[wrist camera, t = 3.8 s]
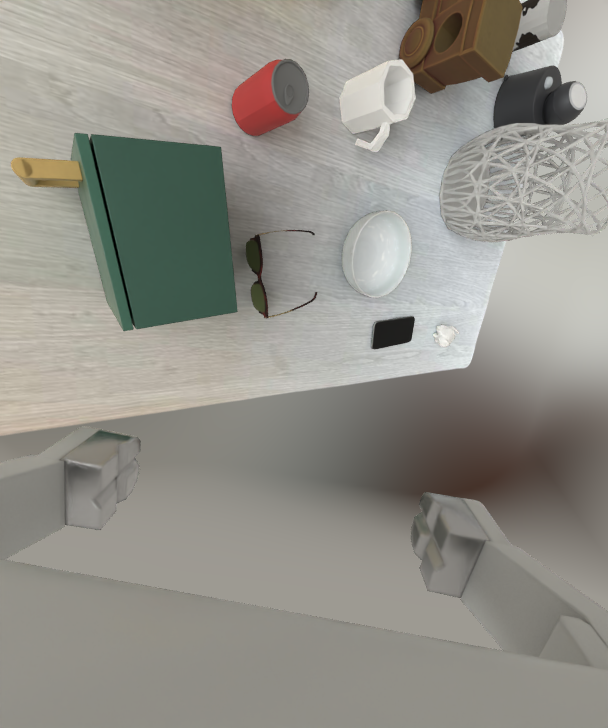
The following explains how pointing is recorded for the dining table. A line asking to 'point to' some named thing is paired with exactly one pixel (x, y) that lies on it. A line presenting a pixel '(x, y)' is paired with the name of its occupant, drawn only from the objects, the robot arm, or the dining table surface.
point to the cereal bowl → (377, 253)
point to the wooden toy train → (460, 41)
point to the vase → (520, 182)
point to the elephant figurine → (445, 335)
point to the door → (86, 180)
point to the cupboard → (167, 227)
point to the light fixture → (538, 99)
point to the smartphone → (392, 332)
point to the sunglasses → (256, 265)
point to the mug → (377, 101)
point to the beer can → (270, 97)
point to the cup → (539, 21)
